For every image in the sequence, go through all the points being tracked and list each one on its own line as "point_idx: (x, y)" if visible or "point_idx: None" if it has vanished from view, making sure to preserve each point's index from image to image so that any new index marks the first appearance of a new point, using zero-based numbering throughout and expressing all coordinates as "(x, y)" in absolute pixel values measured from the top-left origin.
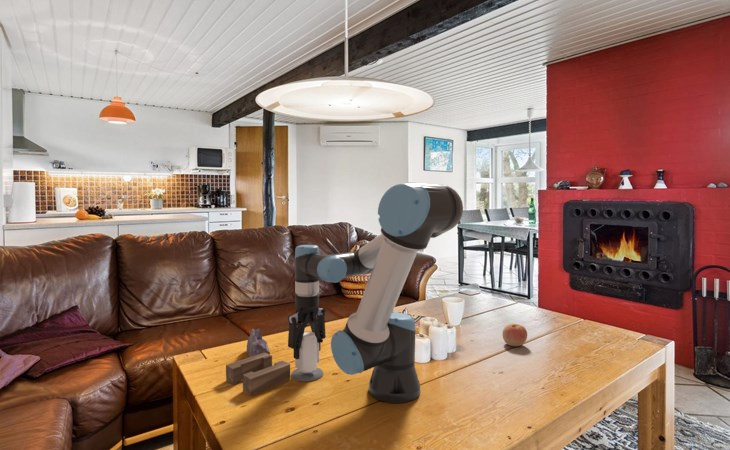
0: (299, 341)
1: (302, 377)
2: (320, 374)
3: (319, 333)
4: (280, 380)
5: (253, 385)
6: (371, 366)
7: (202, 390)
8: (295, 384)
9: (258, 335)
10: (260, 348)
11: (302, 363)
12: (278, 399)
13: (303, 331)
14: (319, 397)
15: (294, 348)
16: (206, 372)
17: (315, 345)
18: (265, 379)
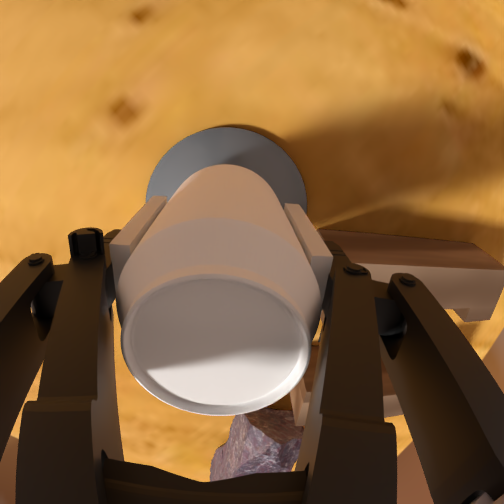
0: (366, 299)
1: (277, 191)
2: (191, 145)
3: (65, 292)
4: (373, 239)
5: (484, 257)
6: None
7: None
8: (336, 176)
9: None
10: (283, 450)
11: (290, 213)
12: (454, 144)
13: (339, 372)
14: (354, 10)
15: (399, 273)
16: (397, 427)
17: (191, 204)
18: (451, 256)
